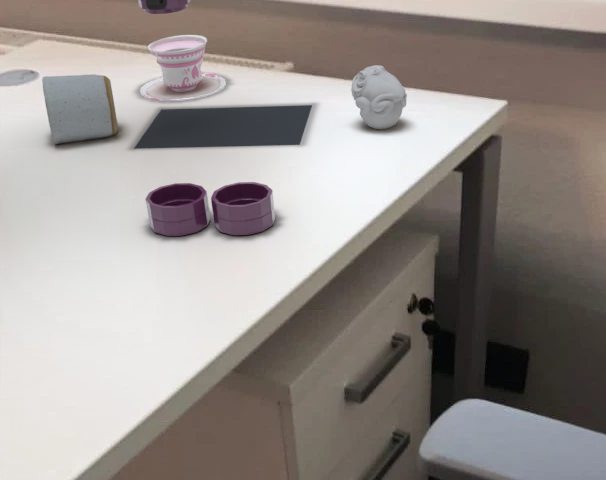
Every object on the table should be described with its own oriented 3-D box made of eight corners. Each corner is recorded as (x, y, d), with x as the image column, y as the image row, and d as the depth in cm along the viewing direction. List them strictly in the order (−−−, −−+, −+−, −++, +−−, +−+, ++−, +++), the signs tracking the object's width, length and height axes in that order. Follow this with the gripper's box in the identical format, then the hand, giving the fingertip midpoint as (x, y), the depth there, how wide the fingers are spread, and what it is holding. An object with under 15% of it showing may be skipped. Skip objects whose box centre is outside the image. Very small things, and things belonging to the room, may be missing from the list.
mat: (134, 151, 105) (133, 148, 105) (161, 112, 116) (161, 109, 116) (299, 148, 103) (299, 144, 103) (312, 108, 114) (312, 105, 113)
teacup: (185, 109, 116) (178, 59, 112) (122, 96, 122) (113, 49, 118) (244, 83, 123) (239, 36, 120) (181, 73, 129) (175, 27, 125)
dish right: (211, 240, 85) (206, 207, 83) (222, 214, 90) (217, 182, 88) (270, 239, 85) (267, 206, 82) (278, 214, 89) (275, 181, 87)
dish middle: (145, 241, 86) (139, 207, 84) (160, 215, 91) (154, 183, 88) (203, 240, 85) (199, 207, 83) (215, 214, 90) (211, 182, 88)
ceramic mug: (122, 143, 108) (110, 77, 103) (55, 153, 106) (39, 86, 102) (116, 117, 116) (104, 55, 111) (53, 126, 115) (38, 64, 110)
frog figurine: (373, 115, 110) (373, 56, 105) (418, 126, 106) (419, 65, 102) (341, 130, 107) (339, 69, 102) (386, 141, 103) (385, 79, 98)
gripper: (121, -181, 97) (148, -12, 108) (80, -168, 86) (115, 19, 97) (187, -186, 96) (208, -14, 107) (154, -173, 85) (181, 16, 96)
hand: (164, 1), depth 102 cm, fingers closed on dish left, 6 cm apart
